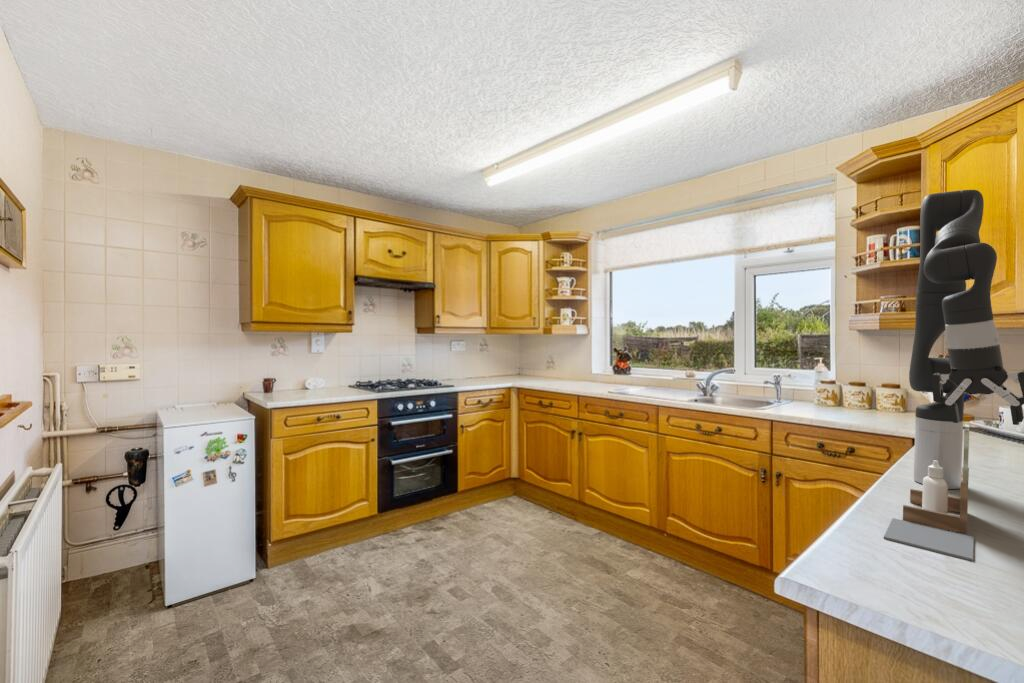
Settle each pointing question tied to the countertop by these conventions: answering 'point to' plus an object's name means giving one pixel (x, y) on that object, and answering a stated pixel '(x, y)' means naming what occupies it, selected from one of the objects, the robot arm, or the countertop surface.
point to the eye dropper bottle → (935, 490)
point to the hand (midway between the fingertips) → (985, 423)
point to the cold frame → (954, 503)
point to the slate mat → (931, 538)
